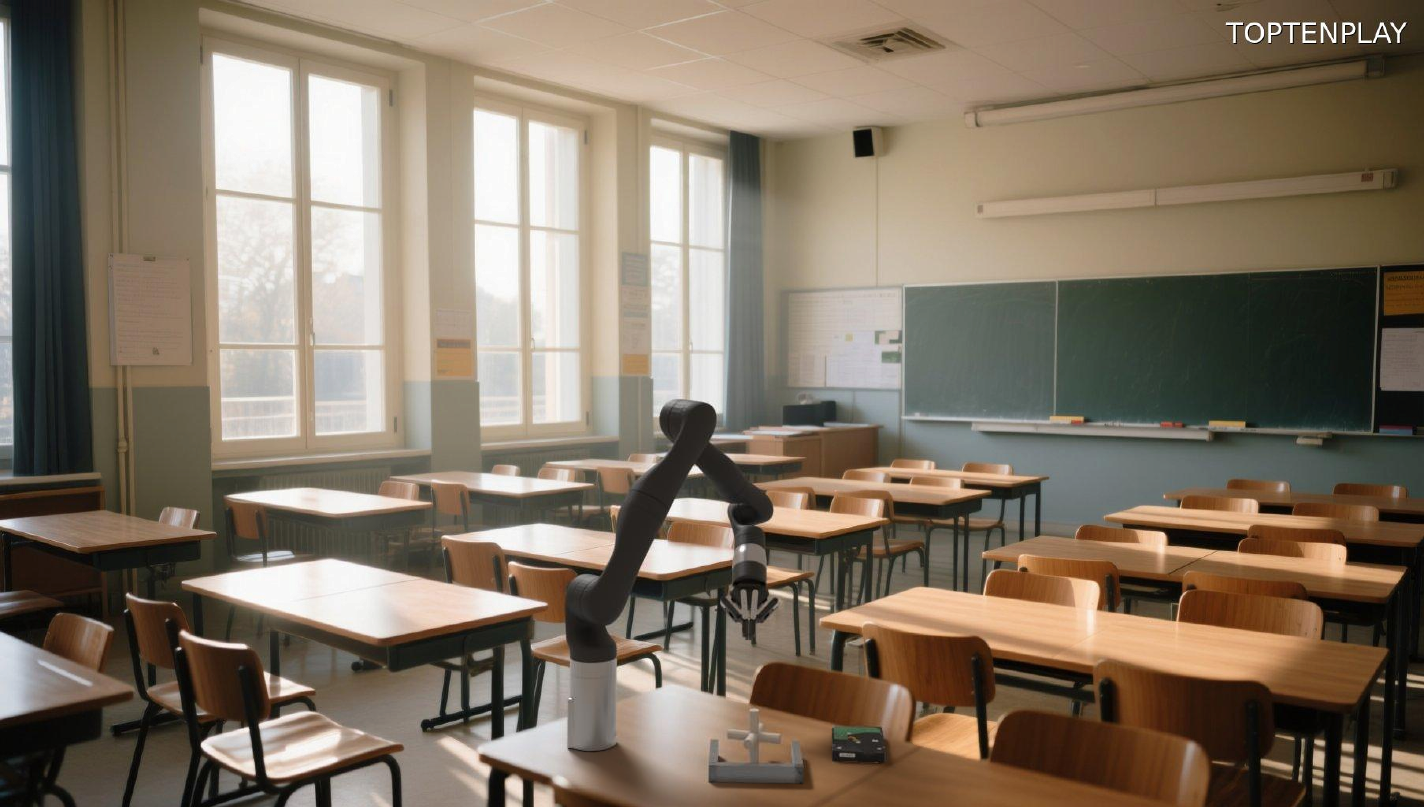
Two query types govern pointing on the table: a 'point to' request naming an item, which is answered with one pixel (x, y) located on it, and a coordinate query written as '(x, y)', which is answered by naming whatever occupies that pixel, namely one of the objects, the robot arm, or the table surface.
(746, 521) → the robot arm
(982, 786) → the table surface
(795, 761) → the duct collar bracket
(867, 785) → the table surface
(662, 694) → the table surface
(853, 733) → the disk drive
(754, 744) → the pipe connector
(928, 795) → the table surface
